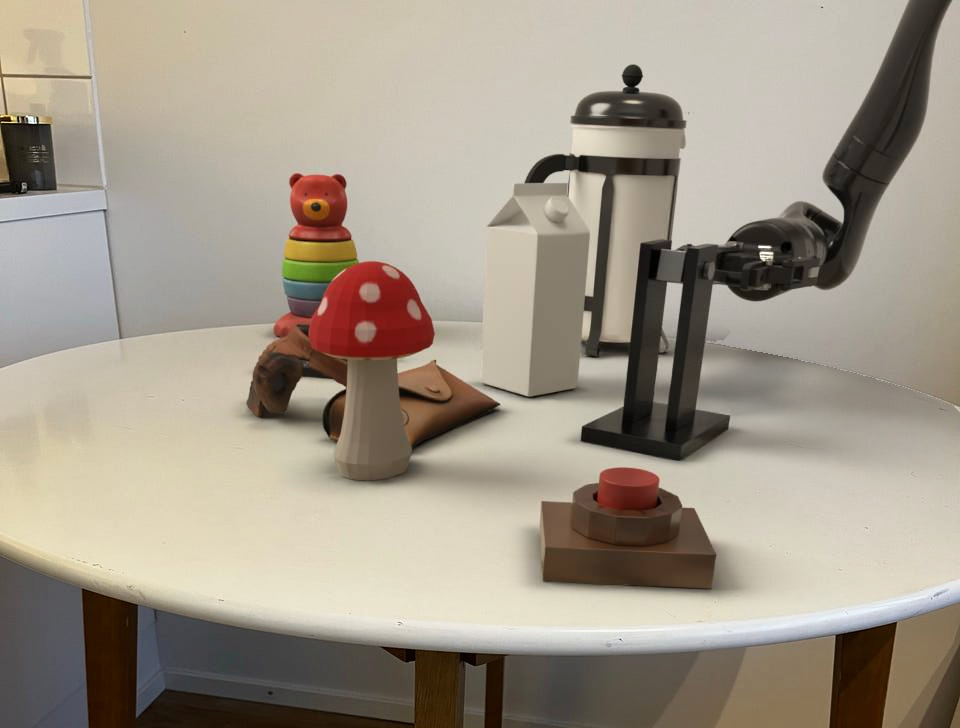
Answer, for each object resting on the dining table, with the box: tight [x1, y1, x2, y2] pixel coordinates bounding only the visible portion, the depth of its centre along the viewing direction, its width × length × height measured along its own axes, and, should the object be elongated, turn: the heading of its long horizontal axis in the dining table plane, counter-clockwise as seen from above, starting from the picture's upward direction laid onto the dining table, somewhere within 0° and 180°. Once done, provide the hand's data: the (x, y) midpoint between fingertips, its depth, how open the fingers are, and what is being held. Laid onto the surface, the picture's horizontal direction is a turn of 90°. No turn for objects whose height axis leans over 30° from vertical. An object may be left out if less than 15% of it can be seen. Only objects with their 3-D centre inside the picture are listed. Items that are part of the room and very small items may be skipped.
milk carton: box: [480, 182, 590, 398], centre depth 99 cm, size 7×7×19 cm
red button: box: [597, 466, 660, 511], centre depth 62 cm, size 4×4×2 cm
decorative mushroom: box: [308, 260, 436, 481], centre depth 74 cm, size 10×9×15 cm
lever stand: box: [580, 239, 731, 461], centre depth 86 cm, size 12×9×16 cm
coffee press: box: [524, 63, 688, 358], centre depth 116 cm, size 17×16×30 cm
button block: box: [538, 482, 717, 590], centre depth 63 cm, size 10×8×4 cm
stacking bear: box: [273, 172, 360, 338], centre depth 121 cm, size 11×10×18 cm
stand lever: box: [656, 249, 742, 287], centre depth 88 cm, size 14×5×2 cm, turn 149°
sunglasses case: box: [321, 359, 501, 449], centre depth 89 cm, size 18×7×7 cm
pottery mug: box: [246, 326, 348, 418], centre depth 90 cm, size 12×10×8 cm
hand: (713, 274), depth 91 cm, fingers closed on stand lever, 5 cm apart
